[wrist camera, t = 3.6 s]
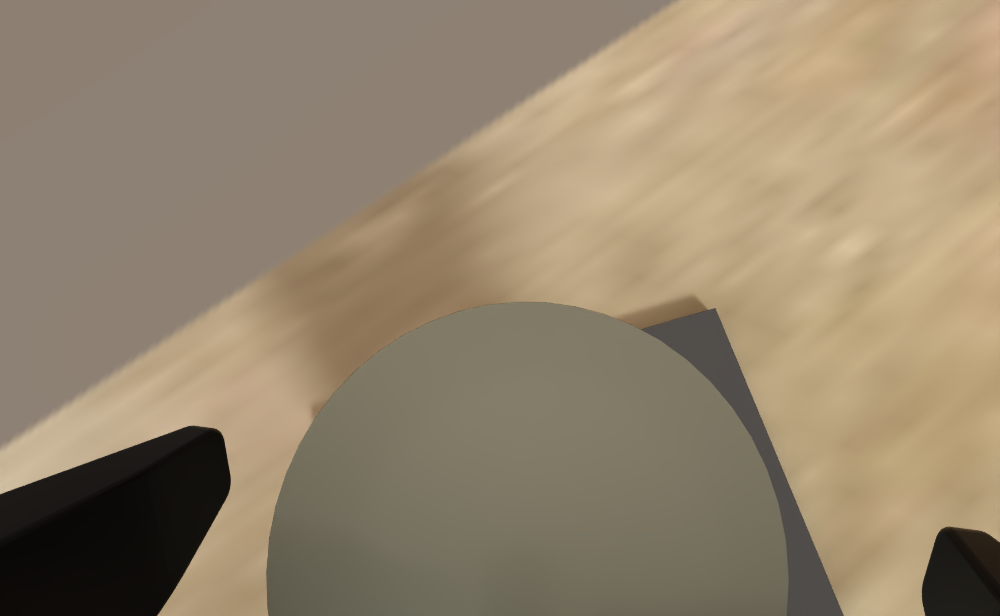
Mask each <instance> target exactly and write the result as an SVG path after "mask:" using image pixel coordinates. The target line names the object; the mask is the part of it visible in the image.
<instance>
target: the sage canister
mask: <svg viewBox="0 0 1000 616" xmlns="http://www.w3.org/2000/svg"><path fill="white" fill-rule="evenodd" d="M266 576H267V605H268V614H269V616H787V600H788V583H789V576H788V561H787V547H786V538H785V533H784V528H783V523H782V518H781V513H780V508H779V504H778V501H777V498H776V495H775V492H774V489H773V486H772V483H771V480H770V477H769V474H768V471H767V468H766V466H765V464H764V462H763V460H762V458H761V456H760V454H759V452H758V450H757V448H756V446H755V443H754V441H753V439H752V437H751V436H750V434H749V433H748V431H747V430H746V428H745V426H744V425H743V423H742V422H741V420H740V419H739V417H738V416H737V414H736V412H735V411H734V409H733V408H732V407H731V406H730V404H729V403H728V402H727V401H726V400H725V398H724V397H723V396H722V395H721V394H720V392H719V391H718V390H717V389H716V388H715V386H714V385H713V384H712V383H711V382H710V381H709V380H708V379H707V378H706V377H705V376H704V375H703V374H702V373H701V372H699V371H698V370H697V369H696V368H695V367H694V366H693V365H692V364H691V363H690V362H689V361H688V360H687V359H685V358H684V357H682V356H681V355H680V354H678V353H677V352H676V351H674V350H673V349H671V348H670V347H669V346H667V345H666V344H664V343H663V342H662V341H660V340H658V339H657V338H655V337H653V336H651V335H649V334H647V333H646V332H644V331H642V330H640V329H638V328H637V327H635V326H633V325H630V324H628V323H625V322H623V321H620V320H618V319H615V318H613V317H610V316H608V315H605V314H602V313H598V312H594V311H591V310H587V309H583V308H579V307H576V306H568V305H561V304H554V303H547V302H511V303H501V304H492V305H485V306H481V307H476V308H472V309H467V310H463V311H459V312H456V313H453V314H450V315H447V316H445V317H442V318H439V319H436V320H433V321H431V322H429V323H427V324H425V325H422V326H420V327H418V328H416V329H414V330H412V331H410V332H408V333H406V334H404V335H403V336H401V337H400V338H398V339H397V340H395V341H394V342H392V343H390V344H389V345H387V346H386V347H384V348H383V349H381V350H380V351H378V352H377V353H376V354H375V355H374V356H372V357H371V358H370V359H369V360H367V361H366V362H365V363H364V364H363V365H361V366H360V367H359V368H358V369H357V370H356V371H355V372H354V373H353V374H352V375H351V376H350V377H349V378H348V379H347V380H346V381H345V382H344V383H343V384H342V385H341V386H340V387H339V388H338V389H337V390H336V391H335V392H334V394H333V395H332V396H331V398H330V399H329V400H328V402H327V403H326V404H325V406H324V407H323V408H322V409H321V411H320V412H319V413H318V415H317V416H316V417H315V419H314V421H313V422H312V424H311V426H310V427H309V429H308V431H307V432H306V434H305V436H304V438H303V439H302V441H301V443H300V444H299V446H298V449H297V451H296V453H295V455H294V457H293V460H292V462H291V464H290V466H289V468H288V471H287V473H286V476H285V479H284V482H283V485H282V488H281V491H280V494H279V497H278V500H277V503H276V507H275V512H274V517H273V522H272V527H271V532H270V537H269V547H268V559H267V571H266Z"/></svg>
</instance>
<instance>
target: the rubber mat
mask: <svg viewBox="0 0 1000 616" xmlns="http://www.w3.org/2000/svg"><path fill="white" fill-rule="evenodd" d="M641 330H642V331H644V332H646V333H647V334H649V335H651V336H653V337H655V338H657V339H658V340H660V341H662V342H663V343H664V344H666V345H667V346H669V347H670V348H671V349H673V350H674V351H676V352H677V353H678V354H680V355H681V356H682V357H684V358H685V359H687V360H688V361H689V362H690V363H691V364H692V365H693V366H694V367H695V368H696V369H697V370H698V371H699V372H701V373H702V374H703V375H704V376H705V377H706V378H707V379H708V380H709V381H710V382H711V383H712V384H713V385H714V386H715V388H716V389H717V390H718V391H719V392H720V394H721V395H722V396H723V397H724V398H725V400H726V401H727V402H728V403H729V404H730V406H731V407H732V408H733V409H734V411H735V412H736V414H737V416H738V417H739V419H740V420H741V422H742V423H743V425H744V426H745V428H746V430H747V431H748V433H749V434H750V436H751V437H752V439H753V441H754V443H755V446H756V448H757V450H758V452H759V454H760V456H761V458H762V460H763V462H764V464H765V466H766V468H767V471H768V474H769V477H770V480H771V483H772V486H773V489H774V492H775V495H776V498H777V501H778V504H779V508H780V513H781V518H782V523H783V528H784V533H785V538H786V547H787V561H788V576H789V583H788V600H787V616H843V613H842V611H841V608H840V606H839V604H838V601H837V599H836V596H835V594H834V592H833V589H832V587H831V584H830V582H829V580H828V577H827V575H826V572H825V570H824V568H823V565H822V563H821V560H820V558H819V556H818V553H817V551H816V548H815V546H814V544H813V541H812V539H811V536H810V534H809V532H808V529H807V527H806V524H805V522H804V520H803V517H802V515H801V512H800V510H799V508H798V505H797V503H796V500H795V498H794V496H793V493H792V491H791V488H790V486H789V484H788V481H787V479H786V477H785V474H784V472H783V469H782V467H781V465H780V462H779V460H778V457H777V455H776V453H775V450H774V448H773V445H772V443H771V441H770V438H769V436H768V433H767V431H766V429H765V426H764V424H763V421H762V419H761V417H760V414H759V412H758V409H757V407H756V405H755V402H754V400H753V397H752V395H751V393H750V390H749V388H748V385H747V383H746V381H745V378H744V376H743V373H742V371H741V369H740V366H739V364H738V361H737V359H736V357H735V354H734V352H733V349H732V347H731V345H730V342H729V340H728V337H727V335H726V333H725V330H724V328H723V326H722V323H721V321H720V318H719V316H718V314H717V311H716V309H715V308H714V309H710V310H707V311H703V312H700V313H696V314H693V315H689V316H686V317H683V318H679V319H676V320H672V321H669V322H665V323H662V324H658V325H655V326H651V327H648V328H644V329H641Z"/></svg>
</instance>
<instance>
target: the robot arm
mask: <svg viewBox="0 0 1000 616" xmlns="http://www.w3.org/2000/svg"><path fill="white" fill-rule="evenodd" d="M230 485H231V476H230V471H229V465H228V459H227V453H226V448H225V442H224V438H223V435H222V434H221V432H220V431H219V430H217V429H215V428H207V427H200V426H188V427H185V428H182V429H179V430H176V431H174V432H171V433H168V434H165V435H163V436H160V437H157V438H154V439H152V440H149V441H146V442H143V443H141V444H138V445H135V446H132V447H130V448H127V449H124V450H121V451H118V452H116V453H113V454H110V455H107V456H105V457H102V458H99V459H96V460H94V461H91V462H88V463H85V464H83V465H80V466H77V467H74V468H72V469H69V470H66V471H63V472H61V473H58V474H55V475H52V476H49V477H47V478H44V479H41V480H38V481H36V482H33V483H30V484H27V485H25V486H22V487H19V488H16V489H14V490H11V491H8V492H5V493H3V494H0V616H157V615H158V614H159V612H160V611H161V609H162V608H163V606H164V605H165V603H166V602H167V600H168V599H169V597H170V596H171V594H172V593H173V591H174V590H175V588H176V586H177V585H178V583H179V581H180V580H181V578H182V576H183V575H184V573H185V571H186V569H187V567H188V566H189V564H190V562H191V560H192V559H193V557H194V555H195V553H196V552H197V550H198V548H199V546H200V544H201V543H202V541H203V539H204V537H205V536H206V534H207V532H208V530H209V528H210V527H211V525H212V523H213V521H214V520H215V518H216V516H217V514H218V512H219V511H220V509H221V507H222V505H223V504H224V502H225V500H226V498H227V496H228V493H229V490H230ZM922 602H923V607H924V612H925V616H1000V542H999V541H997V540H996V539H994V538H993V537H992V536H990V535H989V534H987V533H985V532H983V531H979V530H971V529H963V528H956V527H945V528H943V529H941V530H940V532H939V533H938V535H937V537H936V540H935V543H934V547H933V550H932V553H931V557H930V560H929V563H928V567H927V570H926V574H925V577H924V580H923V585H922Z"/></svg>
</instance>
